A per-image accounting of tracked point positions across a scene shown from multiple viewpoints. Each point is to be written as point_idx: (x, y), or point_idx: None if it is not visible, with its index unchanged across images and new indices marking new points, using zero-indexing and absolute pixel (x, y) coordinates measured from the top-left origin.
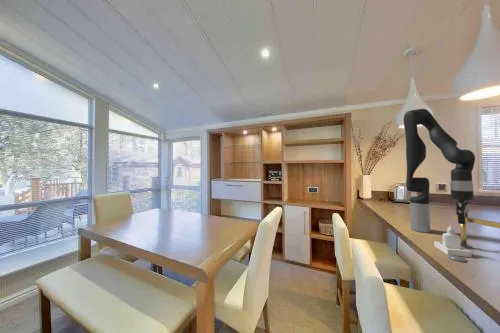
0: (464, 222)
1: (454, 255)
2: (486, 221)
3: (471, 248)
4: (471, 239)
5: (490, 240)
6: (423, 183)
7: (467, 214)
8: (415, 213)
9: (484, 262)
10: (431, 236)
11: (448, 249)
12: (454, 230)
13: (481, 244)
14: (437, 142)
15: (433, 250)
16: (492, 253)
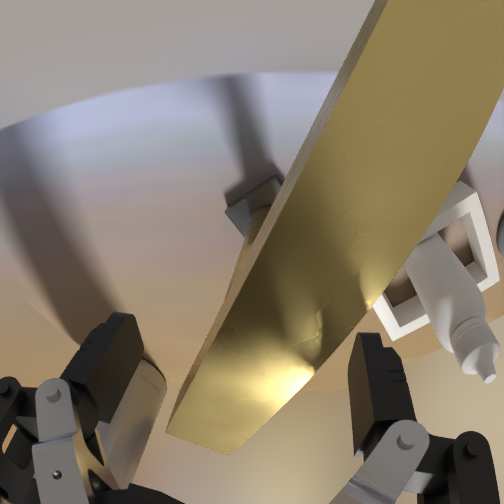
0: (381, 348)
1: (499, 244)
2: (471, 144)
3: (279, 180)
4: (64, 202)
5: (13, 141)
6: None
7: (76, 373)
8: (135, 470)
9: (493, 136)
10: (194, 344)
11: (498, 277)
12: (490, 335)
13: (116, 151)
14: None
15: None
16: (281, 85)
